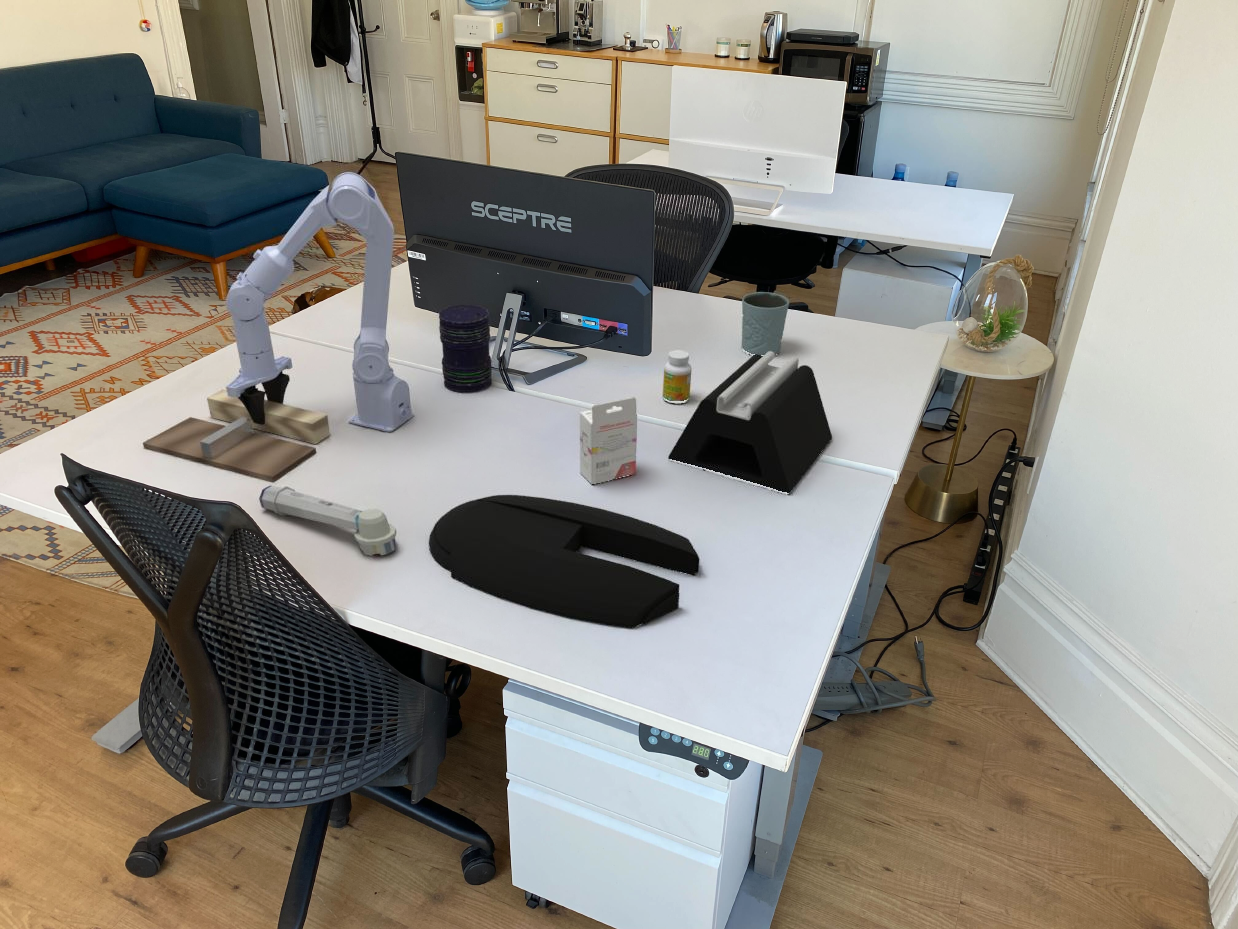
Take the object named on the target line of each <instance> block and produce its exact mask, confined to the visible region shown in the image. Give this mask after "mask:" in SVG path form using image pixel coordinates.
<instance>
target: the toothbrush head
mask: <svg viewBox="0 0 1238 929" xmlns="http://www.w3.org/2000/svg"><path fill="white" fill-rule="evenodd" d="M258 500H259V503H260V507H261V508H263V509H264V510H267V511H272V512H274V513H275V514H278V515H280V516H283V517H285V516H286V515H288V516H292V517H297V518H302V519H305V520H309V521H315V522H320V523H323V524H327V525H332V526H337V527H341V528H346V529H350V530H354V531H355V532H354V538H355V539H354V540H356V542H357V543H358V544H359V548H360V550H361V551H362V552H363V554H364V555H366V556H370V557H371V556H374V555H377V554H378V555H379V554H380V556H384V555H387V554H390V553H392V552H394V551H395V550H396V549H397V541H396V536H397V528H395V526H393V525H392V524H391V523H389V521H388V518H387V516H386V514H385V513H384V512H383V510H381V509H377V508H370V509H369V508H368V509H365V510H359V509H357V508H354V507H353V508H352V507H350V506H346V505H343V504H339V503H337V502H333V501H329V500H325V499H322V498H319V497H315V496H312V495H309V494H305V493H302V492H300V491H296V490H295V489H294V488H291V487H289V486H286V485H284V486H282V487H280V486H276V485H272V484H269V485H268V486H266V487H264V488H262V490H261V493H260V496H259V498H258Z"/></svg>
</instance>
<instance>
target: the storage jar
mask: <svg viewBox="0 0 1238 929" xmlns="http://www.w3.org/2000/svg"><path fill="white" fill-rule="evenodd" d="M489 314H490V313H489V311H488V309H486V308H485V307H482V306H479V305H471V304H461V305H452V306H449V307H446V308H444V309H442V310H440V312H439V313H438V318H439V321H438V322H439V326H438V329H439V340H440V342H441V345H442V346H441V348H442V358H441V365H442V366H441V368H442V369H441V370H442V376H443V385H444V387H445V389H447V390H448V391H450V392H452V393H456V394H475V393H479V392H483V391H486V390H487V389H489V388H490V387H491V386H492V384H493V381H492V369H493V367H492V357H491V355H490V340H491V333H490V332H491V326H490V319H489V317H490V316H489Z"/></svg>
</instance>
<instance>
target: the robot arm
mask: <svg viewBox="0 0 1238 929" xmlns="http://www.w3.org/2000/svg"><path fill="white" fill-rule="evenodd" d="M329 188H330V192H329ZM338 221H340V222H341V223H343V224H346V225H348V226H349V227H351V228H353V229H355V230H356V231H357V232H358V233H359V234H360V235H361V236H362V237H363V238H364V239H365V240H366V244H365V259H364V260H365V262H364V273H363V288H362V302H361V305H362V306H361V316H360V330H359V334H358V337H356V338H355V340H354V342H353V343H354V344H353V352H354V353H353V360H352V364H351V368H352V371H353V372H352V379H353V380H352V381H353V387H354V388H353V389H354V395H355V403H356V411H357V414H355V415H353V416H352V417H351V418H349V419H348V424H353V425H358V426H361V427H362V426H363V427H365V428H371V429H374V430H379V431H382V432H383V431H384V432H387V433H391V432H393V431H394V430H396V429H397V428H399V427H400V426H401V425H403V424H404V423H405V422H407V421H408V420H410V419H411V418H412V417H414V416H415V413H414V412H413V411H412V405H411V393H410V387H409V386H410V385H409V384H408V382H407V381H406V380H404V379H401V378H399V377H398V376H397V375H395V373H394V369H393V368H392V367H391V365H390V362H389V351H390V345H389V342H388V341H387V339H386V338H387V324H388V311H389V300H390V287H391V275H392V263H393V251H394V240H395V229H394V224H393V222H392V220H391V218H390V216H389V215H388V212H387V211H386V209H385V207H384V205H383V204H382V202H381V200H380V198H379V196H378V194H377V191H376V188H375V187H373V186H372V185H371V183H369V182H368V181H367V180H366V179H365V178H364V177H363V176H361V175H360V174H358V173H354V172H351V171H347V172H343V173H340V174H338V175H337V176H336V177H335V178H334V179H333V181H332V183H331V186H330V185H326V187H325V188H323V189H322V190H321V191H320V193H319V194H317V196H316V197H314V199H313V200H311V202H310V203H309V204H308V206H307V207H306V208H305V209H304V211H303V212H302V213H301V215H300V216H299V217H298V219H297V220H296V221H295V223H294V224H293V225H292V226H291V227H290V229H289V230H288V231H287V233H286V234H285V235H284V236H283V238H282V239H281V240H280V242H279V243H278V244H277V245H270V246H268V245H267V246H265V247H263V249H262V250H260V249H257V250H256V251H255V252H254V254H253V256H252V257H253V259H254V260H253V261H252V262H251V263H250V265H249V266H247V268H246V270H245V271H244V272H239V274H237V276H236V280H235V281H234V282H233V283H232V284H231V286H230V289H229V291H228V293H227V295H226V299H225V307H226V309H227V311H228V313H229V314H230V315H231V319H232V323H233V325H232V327H233V328H232V329H233V332H234V337H235V341H236V342H235V343H236V348H237V352H238V359H239V364H240V368H238V373H239V374H238V376H236V377H235V378H234V379H233V381H232V382H230V383H229V384H227V385H226V386H225V390H227V394H228V396H230V397H234V398H238V399H239V400H240V401H241V402H242V403H243V404H244V406H245V407H246V409H247V411H248V412H249V414H250V416H251V418H252V420H253V422H254V423H256V424H260V425H263V424H265V413H264V400H265V397H266V400H268V401H272V402H277V403H281V404H284V401H285V399H284V398H285V394H286V391H287V387H288V386H289V382H291V381H290V379H291V378H290V375H289V374H286V373H283V371H285V370H290V369H293V363H292V357H287V356H280V357H278V358H275V355H274V348H273V343H272V336H271V331H270V327H269V321H268V318H267V314H266V313H267V312H266V309H265V308H266V307H264V306H265V305H264V304H265V302H266V301H267V300H268V299H269V298H271V297H273V295H274V294H275V293H276V292H277V291H278V290H279V289H280V287H281V286H282V285H283V284H284V283H285V281H286V280H288V278H289V276H290V275H291V274H292V273H293V272H294V270H295V265H294V258H295V257H296V256H297V255H298V254H299V253H300V251H302V249H303V248H304V247H305V246H306V245H307V244H309V242H310V241H311V240H312V239H313V237H314V236H316V234H317V233H318V232H319V231H320V230H321V228H326V227H333V226H335V227H336V226H337V225H338ZM260 384H261V386H262V388H263V390H259V388H258V387H257V386H258V385H260Z"/></svg>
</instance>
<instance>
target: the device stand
mask: <svg viewBox="0 0 1238 929" xmlns="http://www.w3.org/2000/svg"><path fill="white" fill-rule="evenodd" d="M775 357H776V356H775V354H774V352H771V351H769V352H767V353H766V354H765V355H764V356H761V355H758V354H756V355H753V356H750V358H748V360H746V361H745V362H744V363H743V364H741V366H739V367H738V368H737V369H736V370H735V371H733V372H732V373H731V374H730V375H729V376H728V377H727V378H725V379H724V380H723V381H722V382H721V383H720V384H719V385H718V386H717V387H715V388H714V390H712V391H711V392H710V393H709V394H708V395H706V396H705V397H704V398H703V399H702V400H700V402H699V403H698V405H697V407H696V409H695V411H694V413H693V414H692V416H691V418H690V419H689V421H688V423H687V424H686V426H685V427H684V429H683V431H682V433H681V434H680V436H679V438H678V439H677V440H676V443H675V445H674V446H673V448H672V450H670V453H669V455H668V460H669V459H672V460H676V461H680V462H683V463H687V464H691V465H695V466H698V467H702V468H706V469H709V470H713V471H715V472H720V473H723V474H725V475H730V476H732V477H737V478H740V479H743V480H746V481H750V482H753V483H757V484H760V485H763V486H766V487H770V488H773V489H776V490H778V491H782V492H787V493H790V494H791V492H792V491H793V490H794V489H795V487H796V486H797V485H798V484H799V482H800V481H801V480H800V479H803V477H804V475H805V474H806V473H807V472H808V471H809V469H810V468H811V467H812V465H813V464H814V463H815V461H816V460H817V459H818V458H819V456H820V455H821V454H822V452H823V451H824V450H825V449H826V447H827V446H828V445H829V443H830V442H831V441H830V440H832V439H833V435H832V431H831V428H830V426H829V425H830V424H829V421H828V417H827V415H826V411H825V408H824V404H823V400H822V397H821V394H820V391H819V387H818V384H817V380H816V377H815V374H814V370H813V368H811V366H809V365H806V364H805V365H804V364H803V365H800V366H799V361H800V360H799V358H798V357H797V356H791V358H789V359H788V360H787V361H786V362H785V363H784V364H783V365H782V366H781V367H778V366H773V365H770V364H769V363H770V362H771V361H773V360H774V358H775ZM829 441H830V442H829ZM827 444H828V445H827ZM826 445H827V446H826ZM825 446H826V447H825ZM823 449H824V450H823ZM822 450H823V451H822ZM821 451H822V452H821ZM820 453H821V454H820ZM819 454H820V455H819ZM817 457H818V458H817ZM793 488H794V489H793Z"/></svg>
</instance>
